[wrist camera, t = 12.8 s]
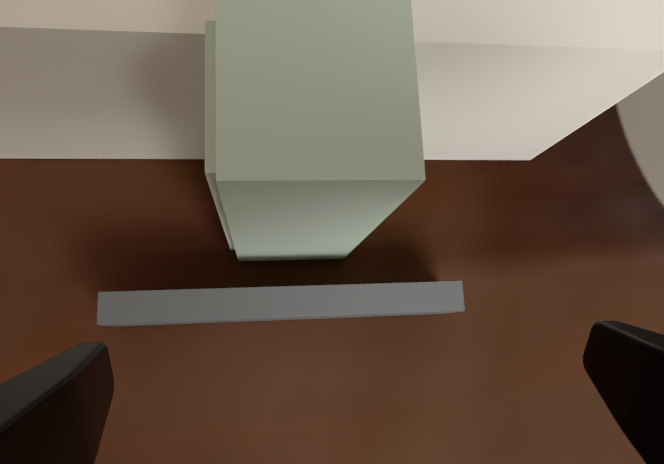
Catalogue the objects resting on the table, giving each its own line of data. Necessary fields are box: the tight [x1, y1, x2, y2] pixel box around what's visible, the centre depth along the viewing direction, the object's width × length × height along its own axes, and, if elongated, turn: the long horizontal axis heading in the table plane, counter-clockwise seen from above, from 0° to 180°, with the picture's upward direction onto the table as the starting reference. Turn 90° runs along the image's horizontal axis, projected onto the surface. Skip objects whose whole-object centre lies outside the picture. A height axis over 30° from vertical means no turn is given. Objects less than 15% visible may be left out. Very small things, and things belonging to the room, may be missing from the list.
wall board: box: [0, 0, 664, 327], centre depth 19 cm, size 9×24×10 cm, turn 93°
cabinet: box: [205, 0, 426, 261], centre depth 18 cm, size 5×5×12 cm
